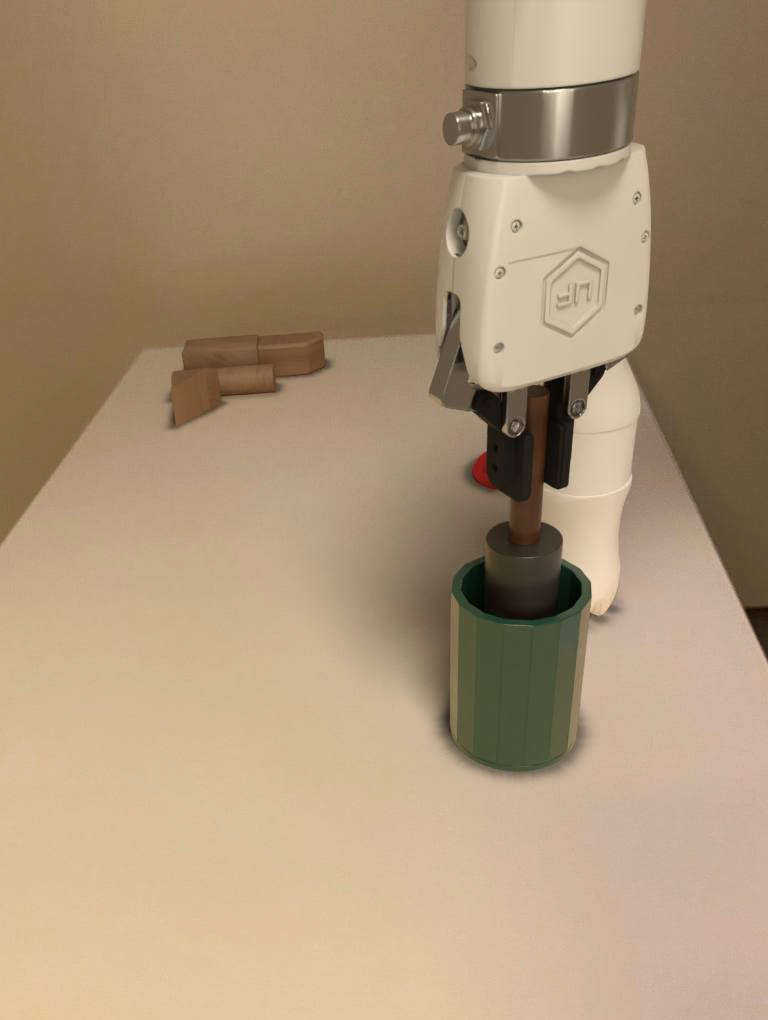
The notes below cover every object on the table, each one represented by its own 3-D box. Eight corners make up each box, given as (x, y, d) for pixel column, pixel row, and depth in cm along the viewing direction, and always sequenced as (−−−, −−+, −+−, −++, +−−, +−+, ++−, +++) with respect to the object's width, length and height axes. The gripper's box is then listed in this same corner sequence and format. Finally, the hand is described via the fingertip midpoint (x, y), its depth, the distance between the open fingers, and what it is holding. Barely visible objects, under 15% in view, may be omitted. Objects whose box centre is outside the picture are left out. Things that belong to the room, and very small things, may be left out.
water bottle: (539, 574, 82) (560, 264, 68) (626, 593, 79) (669, 271, 64) (507, 620, 77) (523, 297, 63) (599, 642, 74) (638, 307, 59)
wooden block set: (176, 331, 123) (322, 320, 121) (183, 375, 126) (325, 365, 125) (158, 383, 109) (322, 370, 108) (166, 431, 112) (326, 419, 111)
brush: (566, 625, 62) (588, 382, 53) (537, 663, 60) (555, 413, 50) (501, 607, 65) (511, 370, 55) (470, 643, 62) (475, 400, 52)
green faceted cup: (594, 719, 67) (612, 569, 60) (544, 794, 62) (558, 640, 55) (483, 683, 72) (488, 539, 65) (428, 750, 66) (427, 602, 59)
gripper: (443, 165, 40) (443, 556, 51) (745, 103, 45) (685, 473, 55) (355, 142, 46) (371, 498, 56) (631, 89, 50) (597, 427, 61)
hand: (527, 483), depth 56 cm, fingers closed on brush
